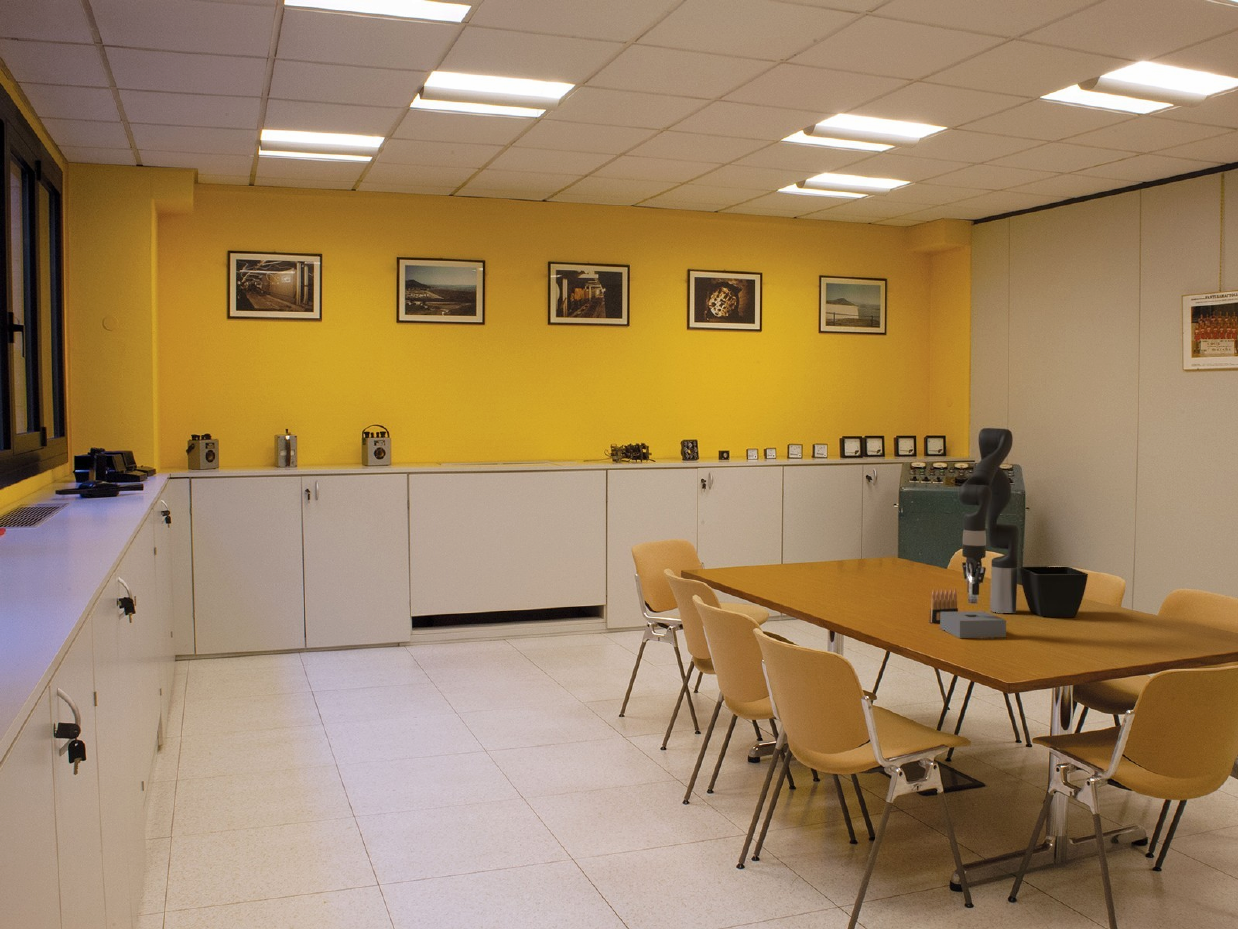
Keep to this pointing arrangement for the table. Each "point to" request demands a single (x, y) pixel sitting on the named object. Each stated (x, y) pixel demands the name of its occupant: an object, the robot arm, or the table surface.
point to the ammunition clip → (942, 604)
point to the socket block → (973, 624)
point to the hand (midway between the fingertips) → (973, 593)
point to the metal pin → (971, 597)
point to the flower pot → (1053, 590)
